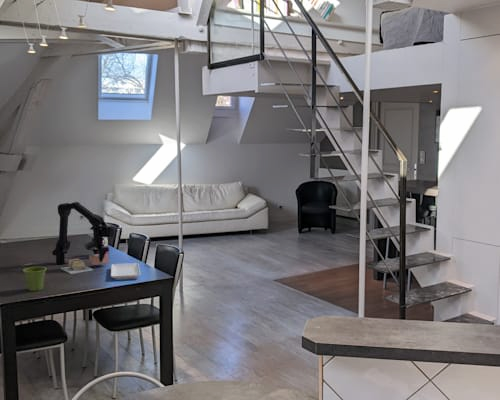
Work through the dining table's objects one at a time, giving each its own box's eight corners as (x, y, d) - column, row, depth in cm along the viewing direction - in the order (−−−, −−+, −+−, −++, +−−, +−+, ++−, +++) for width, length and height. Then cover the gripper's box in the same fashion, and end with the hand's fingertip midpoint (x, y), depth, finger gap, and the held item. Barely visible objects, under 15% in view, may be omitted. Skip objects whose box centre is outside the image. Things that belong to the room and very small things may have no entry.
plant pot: (44, 292, 293) (43, 271, 292) (21, 292, 292) (19, 272, 291) (50, 286, 305) (49, 266, 303) (28, 286, 304) (27, 266, 302)
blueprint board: (61, 269, 344) (61, 267, 344) (82, 265, 352) (82, 264, 352) (70, 273, 331) (70, 272, 331) (92, 270, 340) (92, 268, 340)
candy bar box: (102, 254, 386) (101, 231, 384) (108, 254, 385) (107, 231, 383) (94, 257, 375) (93, 234, 373) (101, 258, 374) (100, 234, 372)
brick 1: (69, 267, 344) (68, 259, 343) (78, 266, 347) (78, 258, 347) (75, 270, 336) (74, 262, 335) (84, 269, 340) (84, 261, 339)
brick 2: (93, 264, 344) (93, 256, 343) (89, 263, 349) (89, 255, 348) (108, 262, 350) (108, 254, 350) (104, 260, 355) (104, 253, 354)
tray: (139, 267, 348) (138, 262, 348) (140, 280, 318) (140, 274, 317) (111, 269, 344) (111, 263, 344) (110, 282, 314) (110, 276, 313)
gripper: (79, 236, 350) (80, 260, 352) (91, 240, 335) (92, 265, 337) (96, 234, 357) (97, 257, 358) (108, 238, 342) (109, 262, 344)
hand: (98, 261), depth 349 cm, fingers closed on brick 2, 6 cm apart
